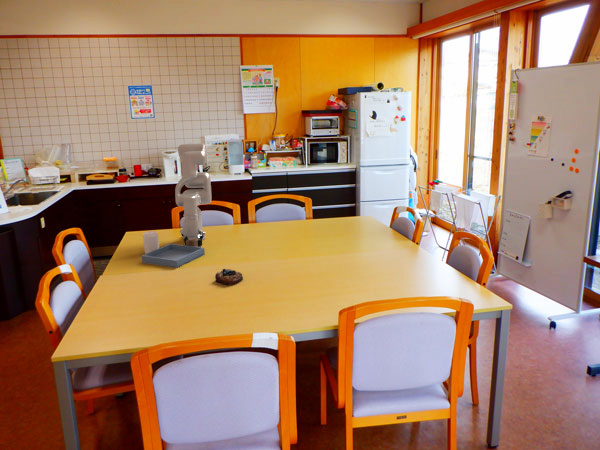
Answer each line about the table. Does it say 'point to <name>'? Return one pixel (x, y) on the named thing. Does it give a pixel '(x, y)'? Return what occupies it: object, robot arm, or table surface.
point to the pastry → (228, 277)
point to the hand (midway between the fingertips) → (193, 245)
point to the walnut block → (192, 242)
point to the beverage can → (150, 241)
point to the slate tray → (173, 255)
